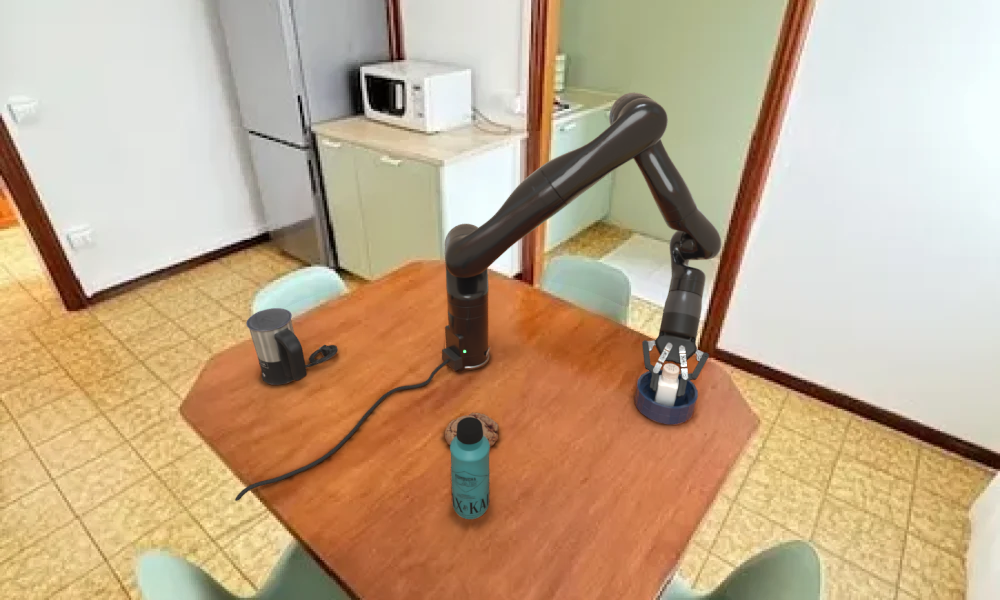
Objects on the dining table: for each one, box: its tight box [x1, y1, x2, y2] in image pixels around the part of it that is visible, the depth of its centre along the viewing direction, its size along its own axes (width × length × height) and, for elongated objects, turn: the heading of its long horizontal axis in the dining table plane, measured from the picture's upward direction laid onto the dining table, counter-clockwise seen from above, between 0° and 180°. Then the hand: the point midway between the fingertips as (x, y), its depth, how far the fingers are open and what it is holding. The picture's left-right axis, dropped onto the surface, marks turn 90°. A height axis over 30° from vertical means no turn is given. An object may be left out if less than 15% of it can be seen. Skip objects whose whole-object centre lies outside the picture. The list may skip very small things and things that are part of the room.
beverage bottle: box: [449, 417, 491, 520], centre depth 87 cm, size 6×7×20 cm
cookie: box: [444, 412, 500, 448], centre depth 106 cm, size 10×11×3 cm
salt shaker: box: [654, 362, 680, 406], centre depth 112 cm, size 4×4×10 cm
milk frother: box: [245, 307, 339, 386], centre depth 122 cm, size 14×16×15 cm
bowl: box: [633, 369, 699, 425], centre depth 114 cm, size 12×12×5 cm
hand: (666, 394), depth 111 cm, fingers open, 4 cm apart
